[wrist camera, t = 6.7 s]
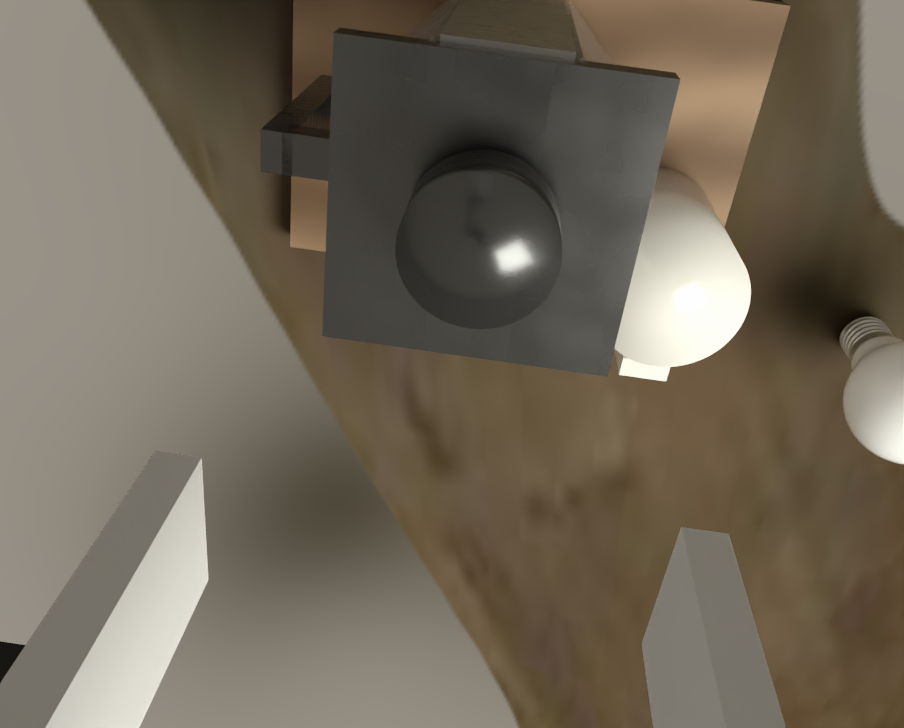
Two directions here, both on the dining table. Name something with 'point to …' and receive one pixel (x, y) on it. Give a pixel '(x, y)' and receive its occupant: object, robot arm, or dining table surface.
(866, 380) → the lightbulb
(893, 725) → the dining table surface
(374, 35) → the carafe
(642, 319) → the mug
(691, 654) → the robot arm
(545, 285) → the plunger
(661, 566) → the dining table surface
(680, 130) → the board
